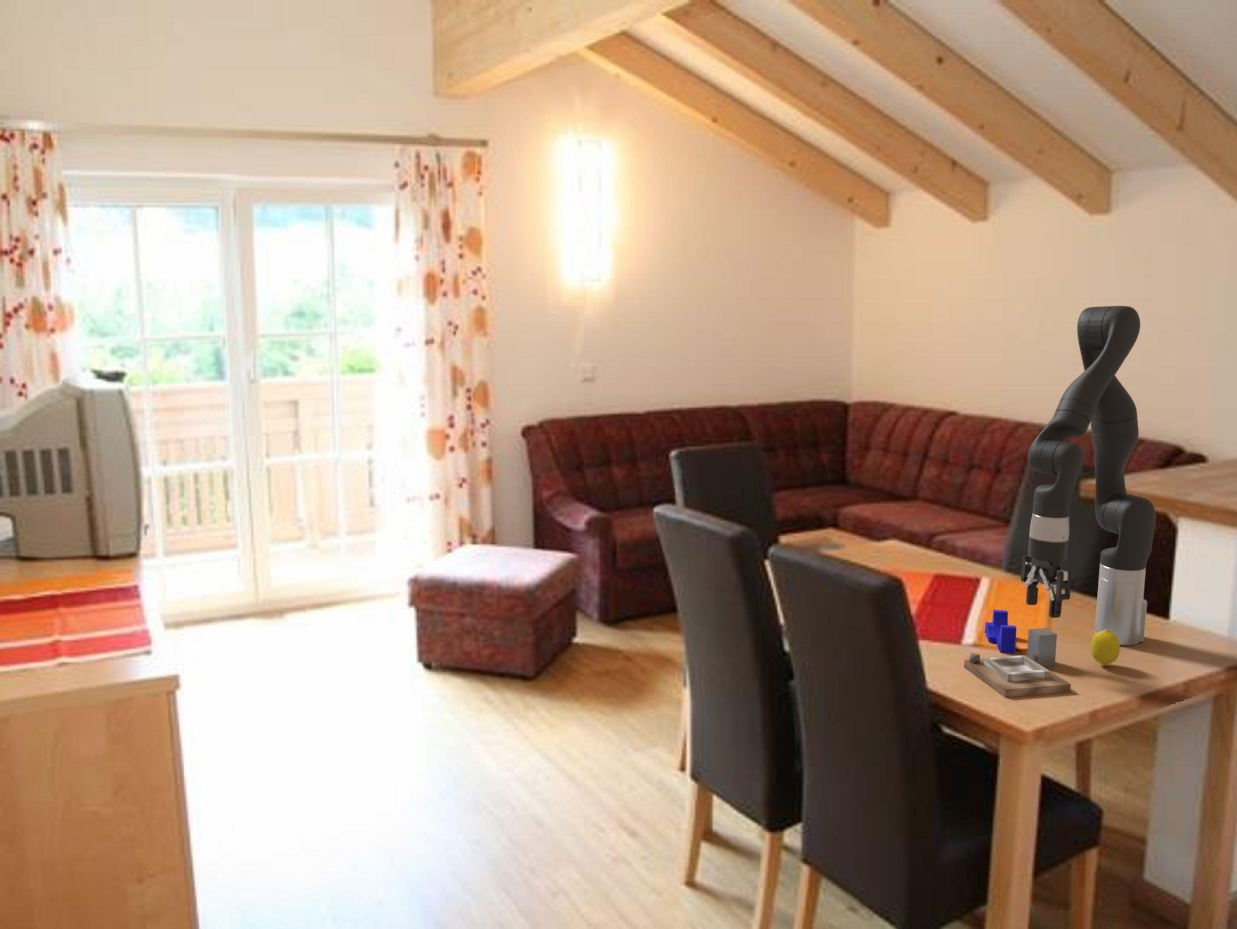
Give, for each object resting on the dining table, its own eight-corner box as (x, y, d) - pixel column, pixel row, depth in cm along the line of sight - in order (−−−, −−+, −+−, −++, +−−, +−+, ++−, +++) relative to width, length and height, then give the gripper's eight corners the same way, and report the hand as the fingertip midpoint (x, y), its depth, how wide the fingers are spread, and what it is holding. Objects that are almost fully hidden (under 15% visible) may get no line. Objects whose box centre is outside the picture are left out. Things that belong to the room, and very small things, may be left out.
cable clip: (984, 634, 235) (986, 609, 234) (1005, 635, 234) (1006, 610, 233) (993, 653, 223) (994, 626, 222) (1014, 654, 222) (1016, 627, 221)
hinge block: (1043, 659, 219) (1045, 627, 218) (1054, 665, 215) (1057, 634, 214) (1026, 660, 218) (1028, 629, 217) (1037, 667, 214) (1039, 635, 213)
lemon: (1116, 672, 211) (1119, 635, 210) (1087, 667, 214) (1090, 631, 212) (1119, 664, 216) (1122, 628, 214) (1091, 659, 219) (1094, 623, 217)
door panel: (1025, 662, 217) (1025, 648, 217) (1070, 691, 202) (1071, 676, 201) (963, 667, 215) (964, 653, 214) (1005, 697, 199) (1005, 682, 199)
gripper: (1086, 543, 205) (1079, 620, 208) (1045, 527, 219) (1039, 599, 222) (1052, 545, 204) (1045, 622, 207) (1013, 528, 218) (1008, 601, 221)
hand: (1042, 610), depth 215 cm, fingers open, 8 cm apart
